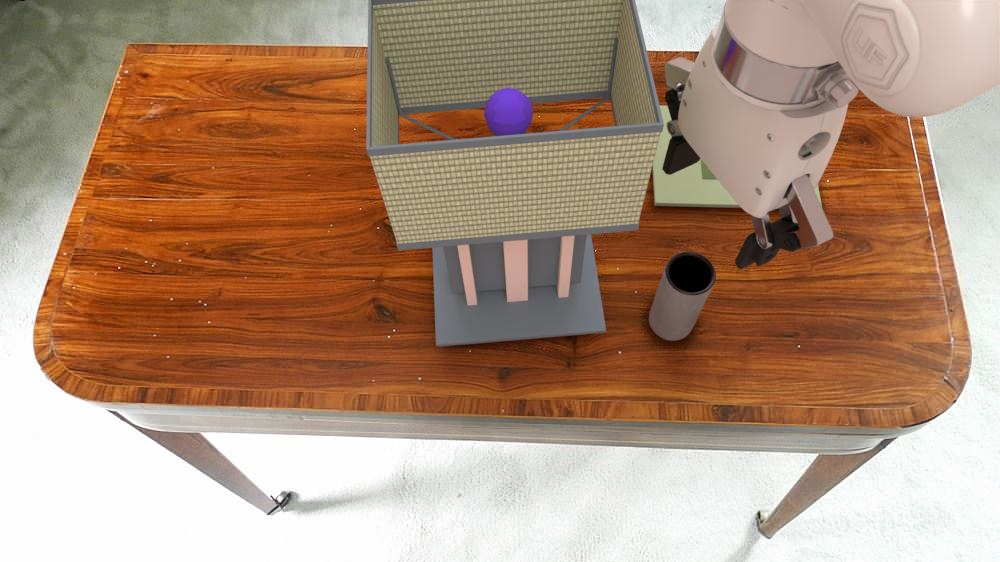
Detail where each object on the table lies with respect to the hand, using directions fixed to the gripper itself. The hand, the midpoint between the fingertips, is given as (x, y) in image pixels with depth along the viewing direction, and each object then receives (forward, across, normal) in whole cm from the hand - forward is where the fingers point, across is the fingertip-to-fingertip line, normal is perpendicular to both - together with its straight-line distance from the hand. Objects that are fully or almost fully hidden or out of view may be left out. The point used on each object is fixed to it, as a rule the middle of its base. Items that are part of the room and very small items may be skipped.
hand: (715, 210), depth 56 cm
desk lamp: (+20, +11, +12) cm, 26 cm away
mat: (+20, +14, -17) cm, 30 cm away
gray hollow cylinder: (+20, 0, 0) cm, 20 cm away
